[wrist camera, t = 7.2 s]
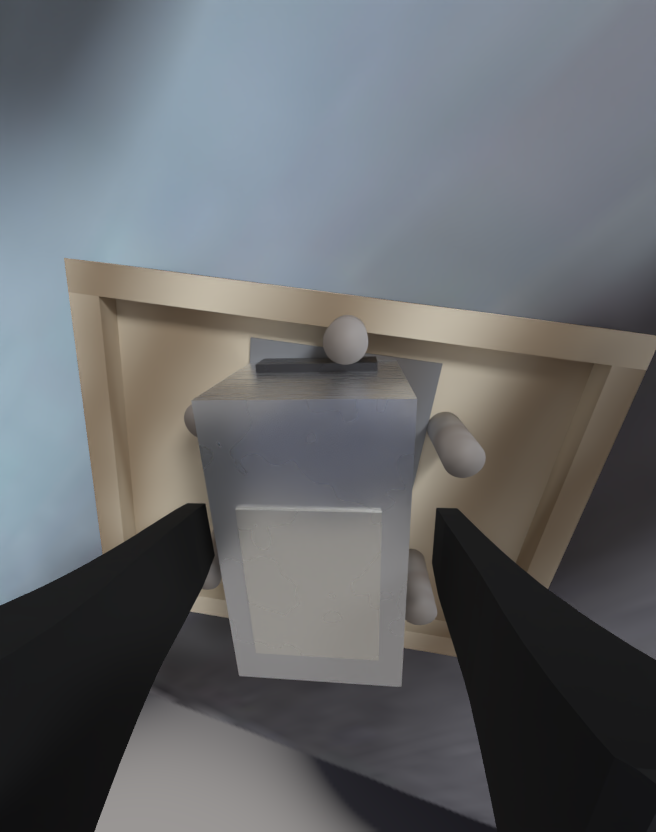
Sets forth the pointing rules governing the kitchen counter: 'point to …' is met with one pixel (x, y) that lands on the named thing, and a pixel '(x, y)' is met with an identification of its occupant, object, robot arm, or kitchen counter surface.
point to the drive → (312, 514)
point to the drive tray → (346, 344)
